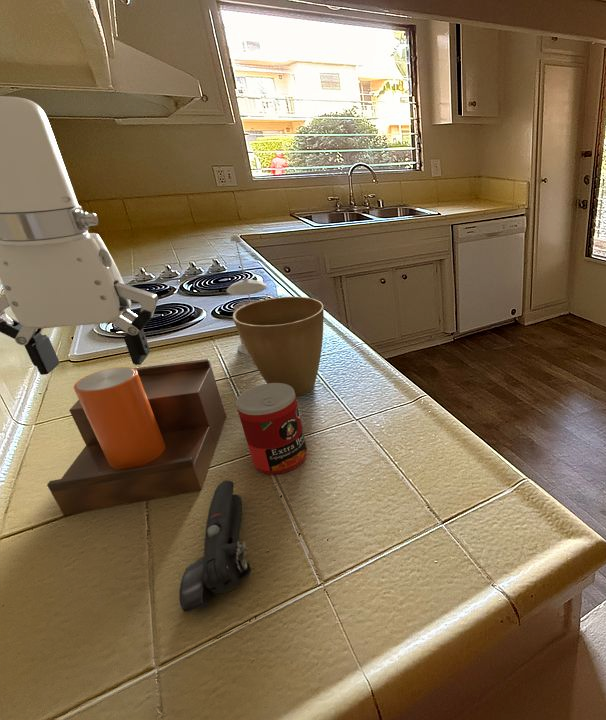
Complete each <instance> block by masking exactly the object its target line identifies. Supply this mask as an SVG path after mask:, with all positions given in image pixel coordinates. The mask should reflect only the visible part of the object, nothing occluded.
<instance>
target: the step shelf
mask: <svg viewBox="0 0 606 720" xmlns="http://www.w3.org/2000/svg"><path fill="white" fill-rule="evenodd" d="M211 364H212V363H211V361H210V358H205V359H198V360H189V361H181V362H174V363H173V362H172V363H166V364H156V365H147V366H140V367H133V368H134V369H135V370H137V372H138V375H139V378H140V380H141V383H142V385H143V388H144V391H145V393H146V396H147V398H148V401H149V404H150V406H151V409H152V411H153V414H154V417H155V419H156V422H157V424H158V427H159V430H160V432H161V435H162V437H163V440H164V443H165V446H166V447H165V450H164V452H163V453H162V454H161V455H160V456H159V457H157V458H156V459H155V460H153V461H151V462H149V463H147V464H145V465H141V466H135V467H129V468H123V469H114V468H112V467H110V465H109V463H108V461H107V459H106V457H105V455H104V453H103V450H102V448H101V446H100V444H99V442H98V440H97V438H96V435H95V433H94V431H93V429H92V427H91V425H90V422H89V420H88V418H87V416H86V414H85V412H84V410H83V407H82V405H81V403H80V401H79V399H78V400H77V401H76V402H75V403H74V404H73V405H72V406H71V408H70V409H69V410H68V411H69V413H70V415H71V417H72V419H73V421H74V423H75V425H76V428H77V430H78V432H79V434H80V435H81V438H82V440H83V442H84V444H85V446H84V448H83V449H82V450H81V451H80V453H79V454H78V455H77V457H76V458H75V459H74V461H73V462H72V463H71V465H70V466H69V468H67V470H66V471H65V473H64V474H63V476H62V477H61V478H58V479H52V480H49V482H48V483H47V484H46V485H47V486H46V487H48V490H49V491H50V494H51V496H52V497H53V499H54V501H55V502H56V504H57V506H58V508H59V510H60V511H61V513H62V515H63V516H69V515H76V514H81V513H86V512H91V511H96V510H102V509H108V508H113V507H117V506H122V505H123V506H124V505H129V504H135V503H139V502H144V501H150V500H155V499H160V498H166V497H171V496H176V495H183V494H188V493H192V492H197V491H198V492H199V491H202V490H203V486H204V484H205V481H206V478H207V474H208V472H209V469H210V467H211V463H212V460H213V457H214V454H215V453H216V449H217V446H218V443H219V440H220V437H221V434H222V432H223V428H224V425H225V422H226V419H227V413H226V410H225V408H224V404H223V400H222V397H221V394H220V390H219V388H218V387H219V386H218V384H217V381H216V378H215V374H214V371H213V368H212V365H211Z"/></svg>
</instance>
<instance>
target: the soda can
mask: <svg viewBox="0 0 606 720" xmlns="http://www.w3.org/2000/svg"><path fill="white" fill-rule="evenodd" d="M134 368H135V367H129V366H120V367H119V366H118V367H112V368H107V369H103V370H99V371H96V372H93V373H91V374H88V375H86V376H84V377H82V378H80V379H78V380H77V381H76V382H75V383H74V385H73V390H74V392H75V394H76V397H77V399H78V400H79V401H80V403H81V405H82V407H83V410H84V412H85V414H86V416H87V418H88V420H89V422H90V425H91V427H92V429H93V431H94V433H95V435H96V438H97V440H98V442H99V444H100V446H101V448H102V450H103V453H104V455H105V457H106V459H107V461H108V463H109V465H110V467H112V468H114V469H123V468H129V467H135V466H141V465H145V464H147V463H149V462H151V461H153V460H155V459H156V458H157V457H159V456H160V455H161V454H162V453H163V452H164V450H165V447H166V446H165V443H164V440H163V437H162V435H161V432H160V430H159V427H158V424H157V422H156V419H155V417H154V414H153V411H152V409H151V406H150V404H149V401H148V398H147V396H146V393H145V391H144V388H143V385H142V383H141V380H140V378H139V375H138V372H137V370H135V369H134Z"/></svg>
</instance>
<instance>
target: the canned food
mask: <svg viewBox="0 0 606 720" xmlns="http://www.w3.org/2000/svg"><path fill="white" fill-rule="evenodd" d="M235 404H236V410H237V413H238V417H239V421H240V425H241V427H242V430H243V435H244V438H245V441H246V444H247V448H248V450H249V454H250V455H249V456H250V458H251V461H252V464H253V466H254V467H255V468H256V470H258V471H259V472H260V473H263V474H266V475H277V474H278V475H280V474H283V473H288V472H290V471H293V470H294V469H296V468H297V467H300V465H301V464H302V463H303V462H304V460H306V457H307V452H308V447H307V441H306V438H305V433H304V428H303V423H302V418H301V413H300V408H299V404H298V400H297V396H296V395H295V392H294V389H293V388H292V387H291V386H289V385H287V384H283V383H268V384H267V383H262V384H259V385H255V386H253V387H250V388H248V389H246V390H245V391H243V392H242V393H240V394H239V395H238V397H237V398H236V401H235Z"/></svg>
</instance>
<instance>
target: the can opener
mask: <svg viewBox="0 0 606 720" xmlns="http://www.w3.org/2000/svg"><path fill="white" fill-rule="evenodd" d="M242 518H243V501H242V497H241V495H239V494H234V482H233V480H223V481H221V482H220V483H218V484H217V486H216V488H215V490H214V493H213V495H212V498H211V502H210V505H209V510H208V513H207V519H206V526H205V535H204V547H203V556H201V558H198V559H197V560H195V561H194V562H192V563H190V564H189V565H188V566H187V567H186V568H185V571H184V572H183V574H182V577H181V581H180V586H179V596H178V597H179V605H180V607H181V610H182V611H183V612H184V613H188V612H192V611H196V610H198V609H201V608H206V607H208V606H209V605H210V604H211V603H212V601H213V600H214V597H215V595H216V594H217V593H218V594H224V593H227V592H230V591H232V590H233V589H235V588H237V587H238V586H240V585H241V584H242V583H243V582H244V581H245V579H247V578H248V577H249V575H250V574H251V570H252V567H251V564H250V563H249V562H248V561H247V558H246V556H245V555H246V553H247V552H248V550H249V547H246V541H245V540H243V541H242V543H240V534H241V529H242V528H241V527H242Z"/></svg>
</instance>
